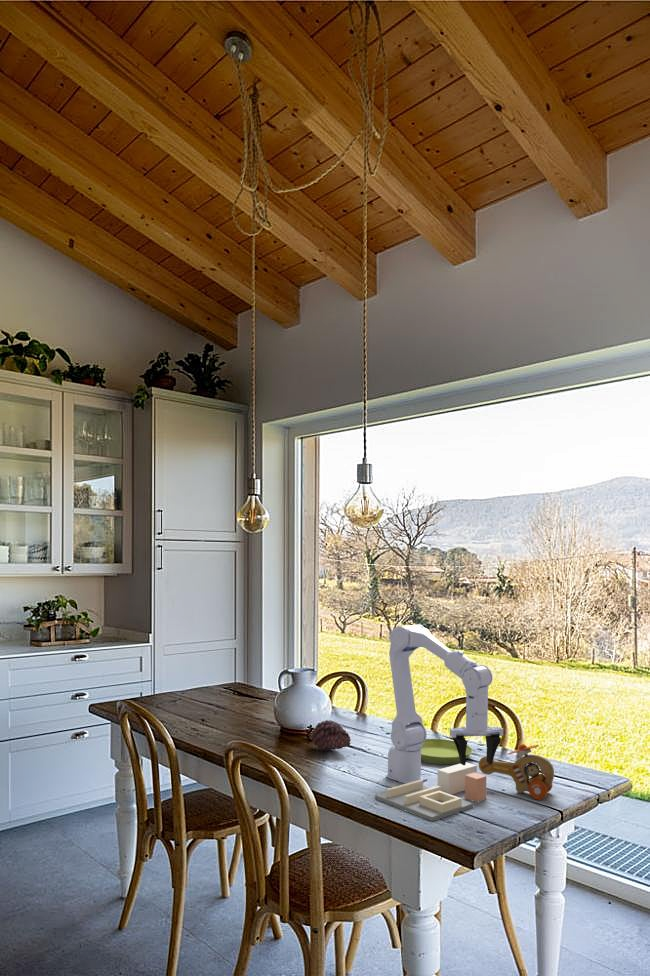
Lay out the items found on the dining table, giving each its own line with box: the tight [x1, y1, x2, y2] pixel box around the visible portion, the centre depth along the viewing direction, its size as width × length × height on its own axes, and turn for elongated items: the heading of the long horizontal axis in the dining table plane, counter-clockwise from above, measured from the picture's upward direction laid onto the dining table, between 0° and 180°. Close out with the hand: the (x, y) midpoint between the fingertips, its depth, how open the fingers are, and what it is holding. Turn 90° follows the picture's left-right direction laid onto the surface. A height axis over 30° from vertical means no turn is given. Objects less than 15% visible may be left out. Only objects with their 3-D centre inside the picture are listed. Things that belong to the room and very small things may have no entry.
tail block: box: [464, 772, 487, 803], centre depth 202 cm, size 4×4×6 cm
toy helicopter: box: [478, 743, 555, 801], centre depth 209 cm, size 8×21×14 cm, turn 61°
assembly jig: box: [375, 780, 474, 822], centre depth 197 cm, size 20×16×3 cm
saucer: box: [421, 738, 473, 765], centre depth 240 cm, size 21×21×3 cm
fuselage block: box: [437, 761, 478, 795], centre depth 209 cm, size 4×12×6 cm, turn 130°
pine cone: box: [309, 719, 352, 752], centre depth 244 cm, size 18×10×10 cm, turn 41°
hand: (476, 763), depth 201 cm, fingers open, 7 cm apart
